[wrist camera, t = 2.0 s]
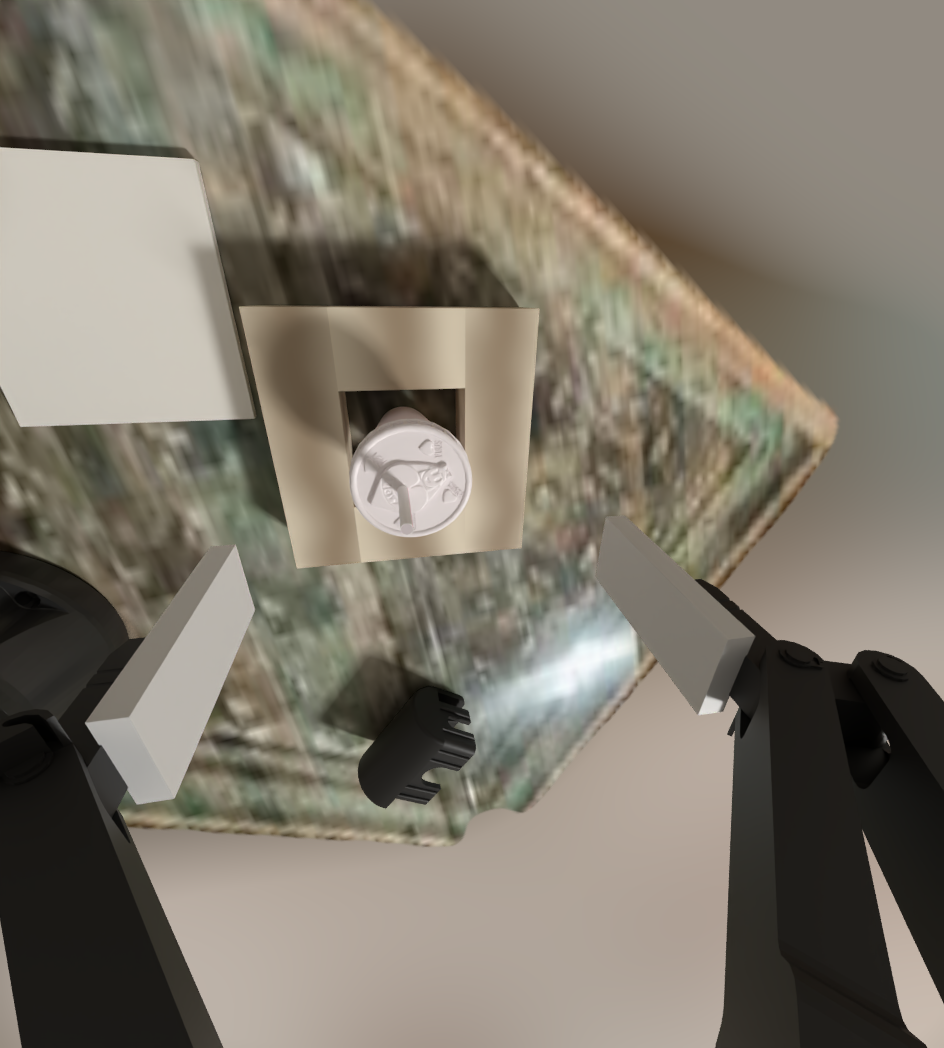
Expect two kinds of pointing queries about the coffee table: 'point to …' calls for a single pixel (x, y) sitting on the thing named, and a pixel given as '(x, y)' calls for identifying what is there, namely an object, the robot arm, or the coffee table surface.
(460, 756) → the end cap
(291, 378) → the frame
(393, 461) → the smoothie
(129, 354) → the tile
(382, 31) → the coffee table surface
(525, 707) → the coffee table surface
